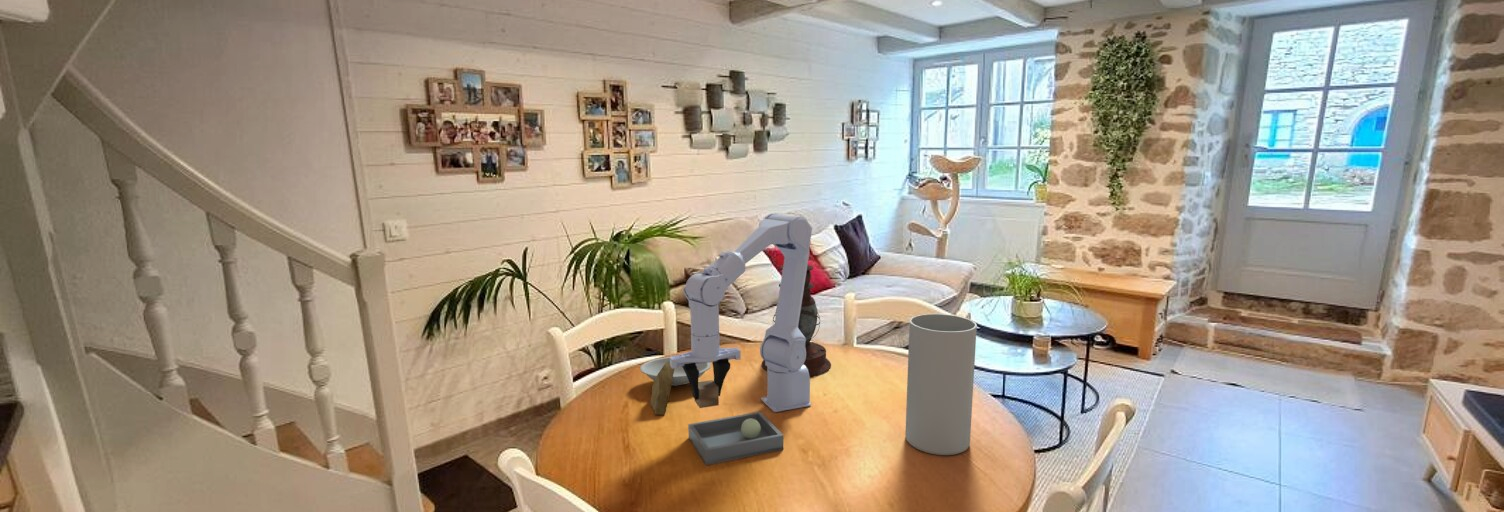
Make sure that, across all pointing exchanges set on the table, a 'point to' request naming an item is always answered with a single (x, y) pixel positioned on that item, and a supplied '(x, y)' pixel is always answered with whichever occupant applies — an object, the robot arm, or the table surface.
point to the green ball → (750, 428)
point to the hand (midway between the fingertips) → (706, 396)
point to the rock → (662, 389)
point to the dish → (679, 374)
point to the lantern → (810, 331)
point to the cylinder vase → (940, 383)
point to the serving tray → (733, 438)
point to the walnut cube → (707, 394)
